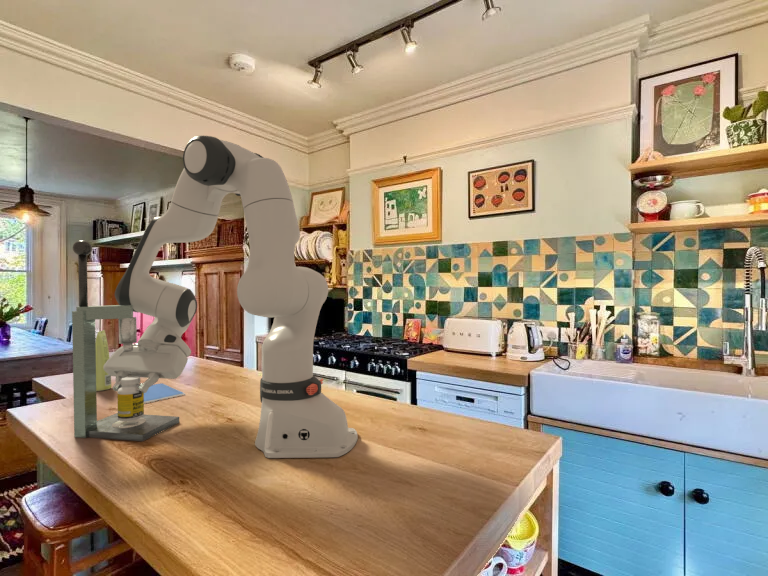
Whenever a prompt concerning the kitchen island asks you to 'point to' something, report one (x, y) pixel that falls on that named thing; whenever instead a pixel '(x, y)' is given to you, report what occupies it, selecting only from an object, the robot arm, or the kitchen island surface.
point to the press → (86, 366)
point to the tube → (102, 362)
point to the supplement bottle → (130, 399)
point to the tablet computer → (160, 393)
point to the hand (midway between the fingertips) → (128, 391)
